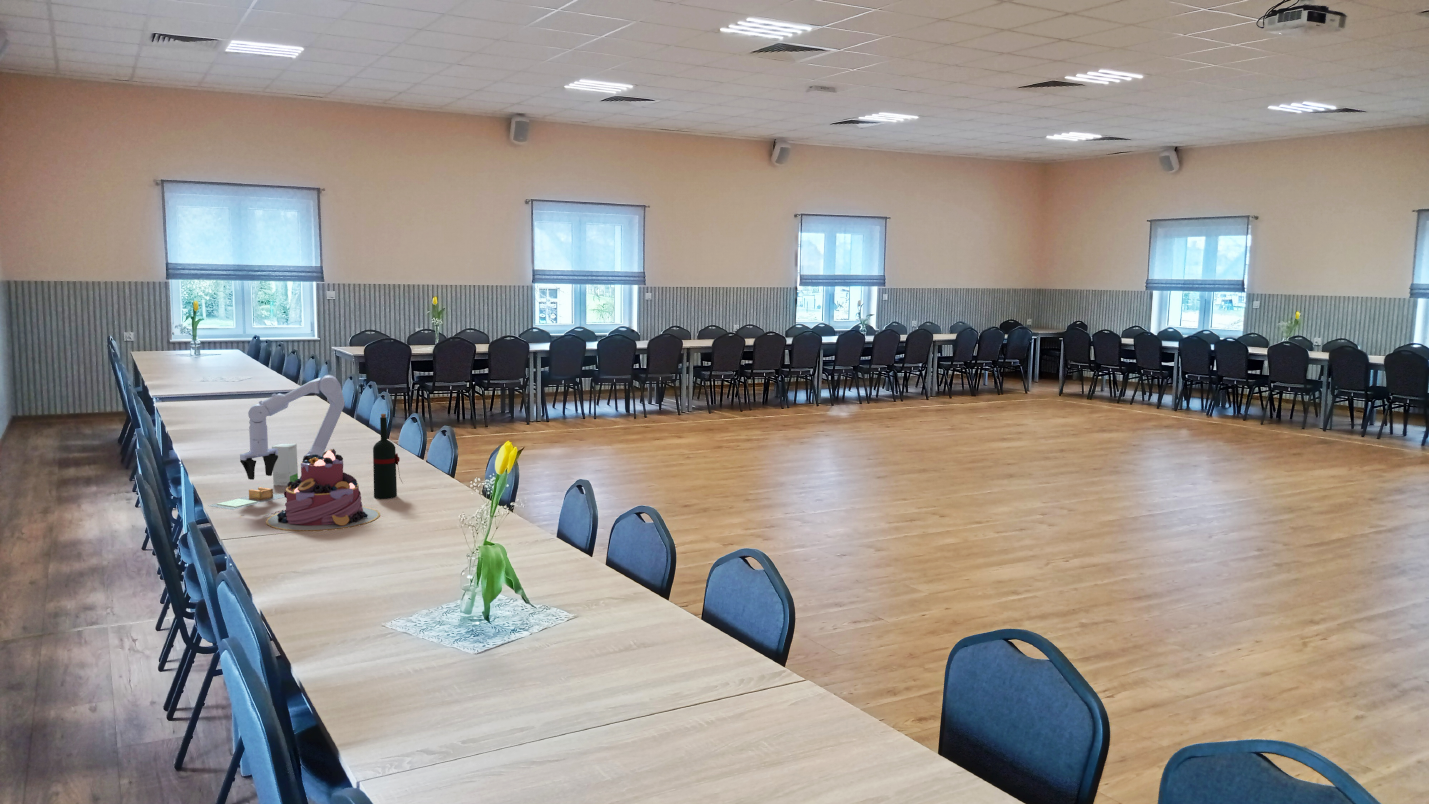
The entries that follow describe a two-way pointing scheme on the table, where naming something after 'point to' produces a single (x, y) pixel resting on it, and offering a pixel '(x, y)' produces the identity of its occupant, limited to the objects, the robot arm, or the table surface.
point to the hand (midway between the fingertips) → (260, 477)
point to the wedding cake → (322, 498)
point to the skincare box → (285, 465)
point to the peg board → (243, 502)
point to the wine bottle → (385, 465)
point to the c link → (261, 493)
